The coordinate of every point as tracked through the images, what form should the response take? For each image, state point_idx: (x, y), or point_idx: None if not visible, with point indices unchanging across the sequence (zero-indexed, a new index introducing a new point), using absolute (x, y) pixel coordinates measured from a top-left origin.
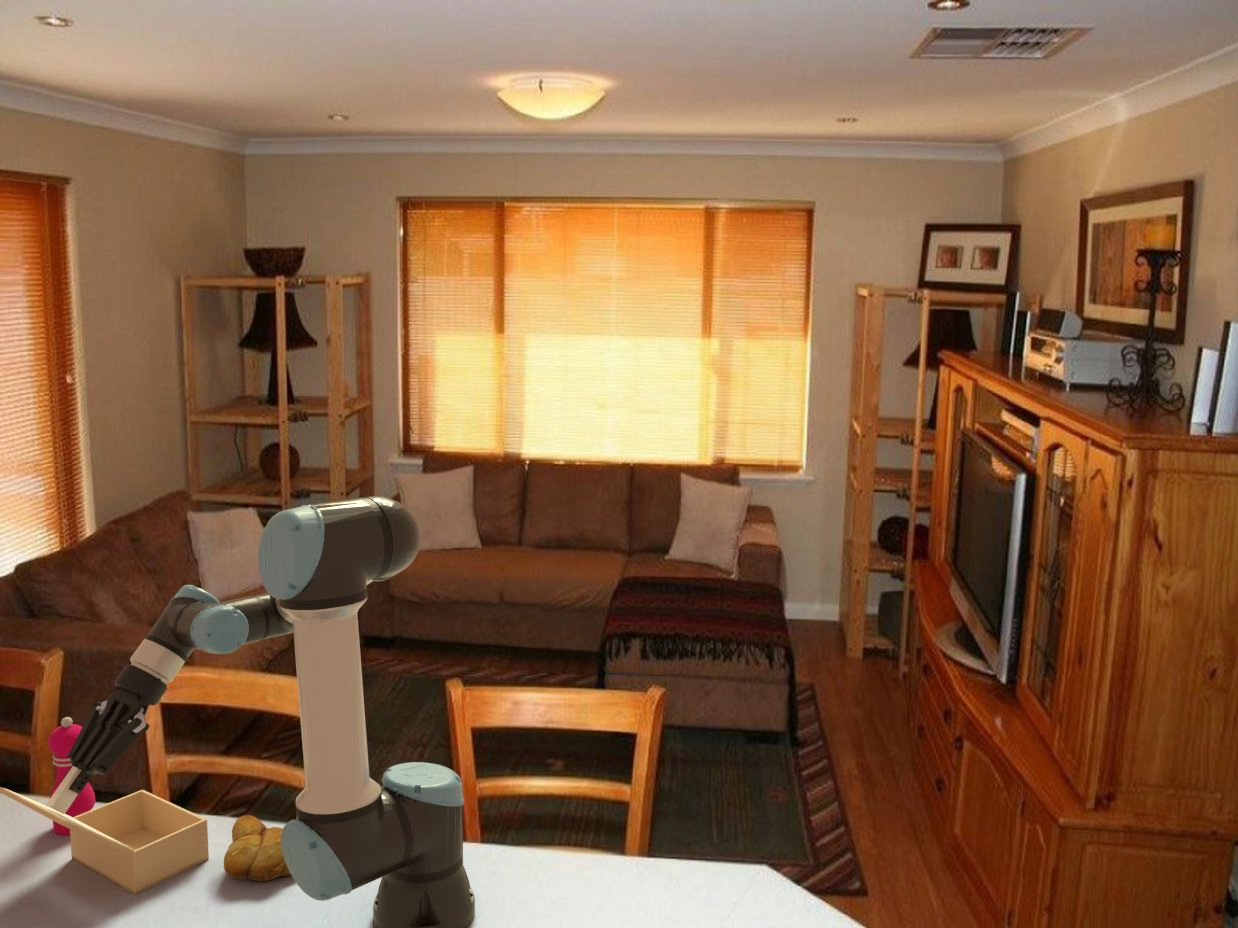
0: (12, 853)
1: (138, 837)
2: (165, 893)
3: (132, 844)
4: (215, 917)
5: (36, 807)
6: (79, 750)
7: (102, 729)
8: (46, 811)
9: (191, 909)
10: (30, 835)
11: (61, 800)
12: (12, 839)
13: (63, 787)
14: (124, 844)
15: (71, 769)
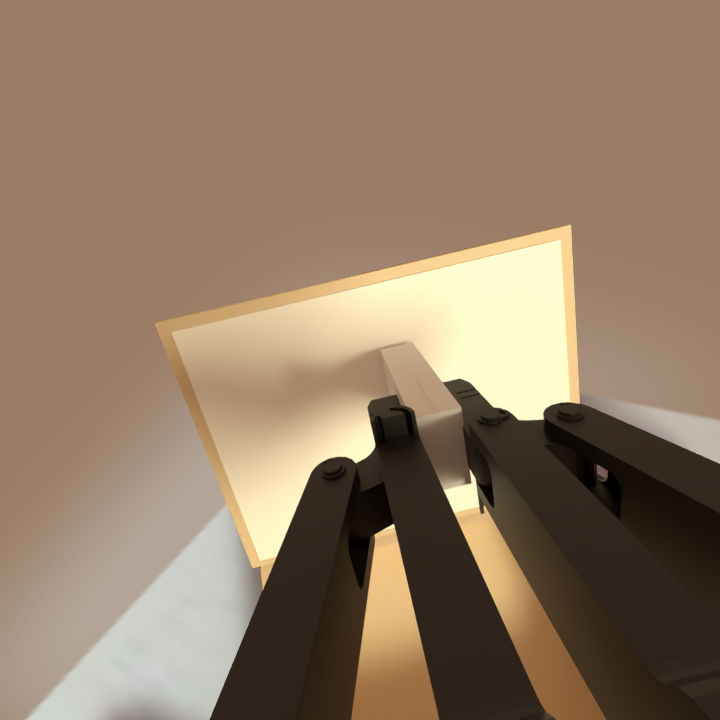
0: (623, 405)
1: (550, 676)
2: (250, 614)
3: (517, 644)
4: (81, 665)
5: (325, 282)
6: (545, 448)
7: (635, 679)
8: (286, 304)
9: (149, 634)
10: (702, 455)
11: (389, 379)
12: (697, 419)
13: (401, 375)
14: (529, 625)
15: (447, 400)
